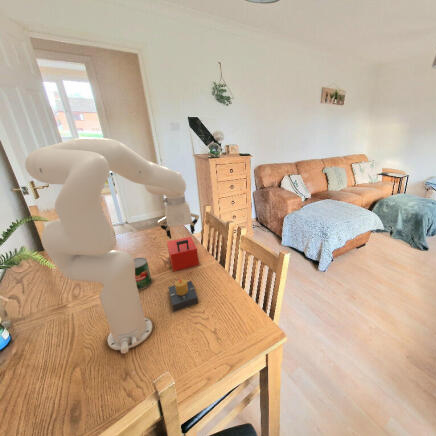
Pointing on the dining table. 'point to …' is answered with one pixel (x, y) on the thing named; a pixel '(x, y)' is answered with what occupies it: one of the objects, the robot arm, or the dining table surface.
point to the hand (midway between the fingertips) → (181, 235)
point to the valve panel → (183, 297)
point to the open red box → (184, 260)
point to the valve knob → (181, 287)
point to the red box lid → (181, 246)
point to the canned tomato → (142, 273)
